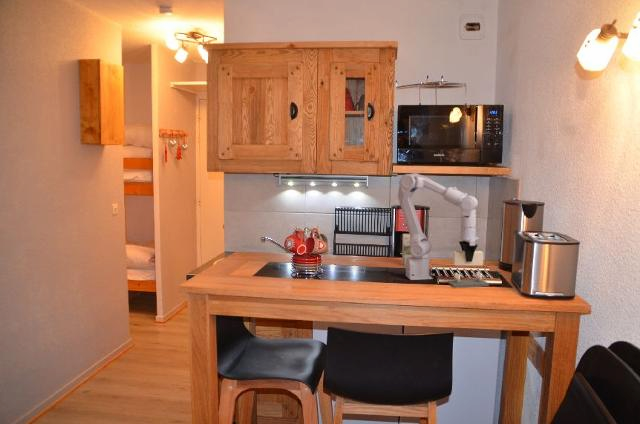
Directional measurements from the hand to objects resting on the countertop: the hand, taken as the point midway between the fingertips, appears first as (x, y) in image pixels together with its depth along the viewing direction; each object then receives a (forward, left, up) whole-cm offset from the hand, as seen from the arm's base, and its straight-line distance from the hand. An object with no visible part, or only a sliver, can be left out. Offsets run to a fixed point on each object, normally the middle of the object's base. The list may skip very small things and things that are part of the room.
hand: (467, 260), depth 197 cm
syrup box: (-14, +36, -10) cm, 40 cm away
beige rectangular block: (0, 0, -2) cm, 2 cm away
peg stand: (-1, -2, -9) cm, 10 cm away
